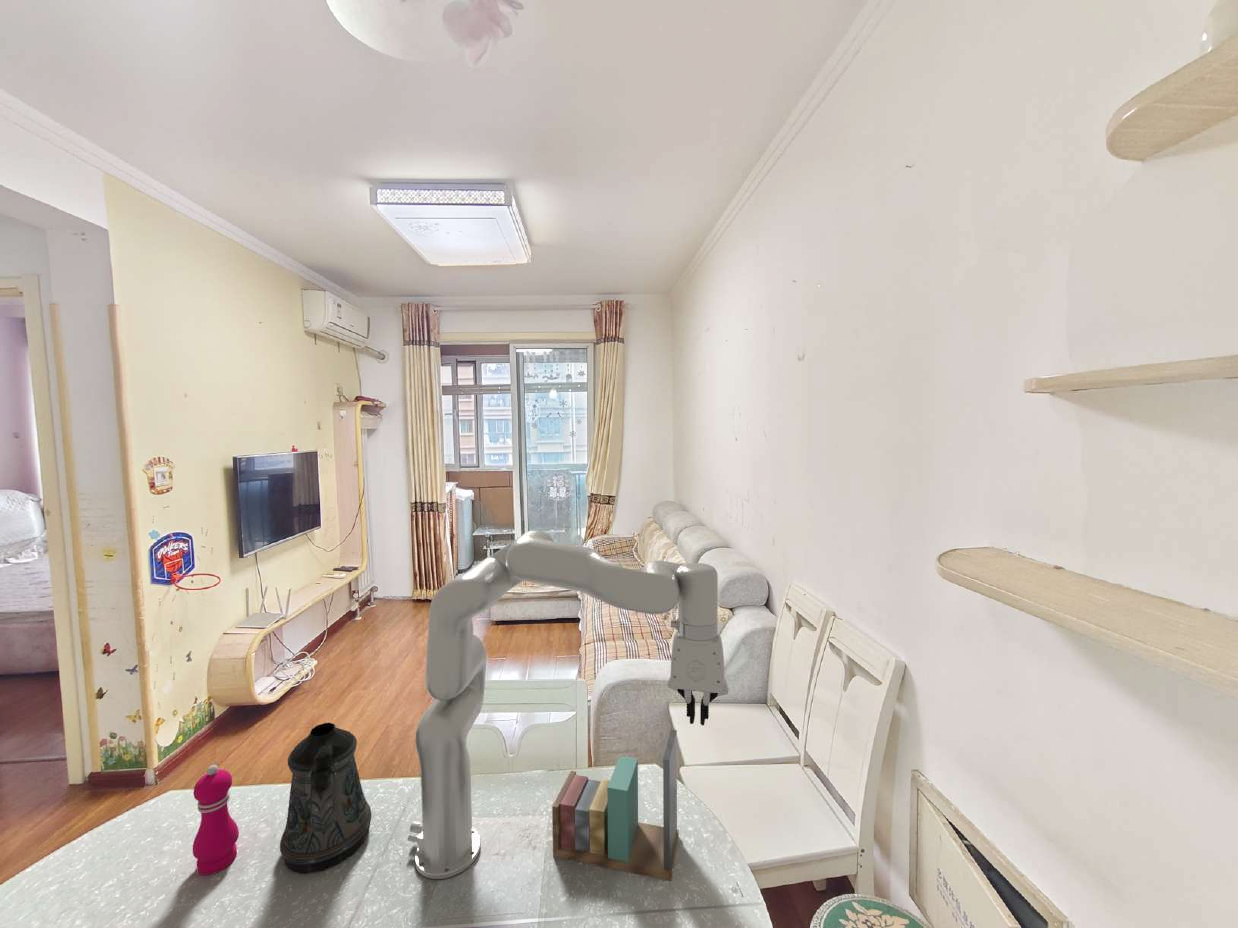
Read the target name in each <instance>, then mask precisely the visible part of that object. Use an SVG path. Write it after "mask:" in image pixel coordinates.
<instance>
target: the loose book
mask: <svg viewBox="0 0 1238 928" xmlns="http://www.w3.org/2000/svg"><path fill="white" fill-rule="evenodd" d="M638 761H639V759H638V758H636V757H629V756H622V755H619V757H618V759H617V762H616V764H615V766H614V769H613V772H612V775H611V777H610V779H609V781H610V782H609V785H608V787H607V795H608V858H610V859H615V860H619V861H624V862H628V860H629V856H630V852H631V849H632V845H633V841H634V837H635V834H636V830H637V826H638V822H639V766H638V764H639V762H638Z"/></svg>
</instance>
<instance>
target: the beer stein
mask: <svg viewBox="0 0 1238 928" xmlns="http://www.w3.org/2000/svg"><path fill="white" fill-rule="evenodd" d="M357 745H358V740H357V738H356V736H355V735H354V734H353V733H352V732H350V731H349V730H345V729H343V728H339V727H337V726H336V725H335V723H332V722H323V723H321V724H318V725H316V726H314V727H313V728H311V731H310V732H309V734H308V735H307V736H306V737H305V738H304V739H302V740H301V741H300V742H298V743H297V744H296V746H295V747H294V748H293V749H292V750H291V752H290V753H289V755H288V757H287V766H288V769H289V771H290V772H291V774H292V775H291V782H290V788H289V789H290V790H289V798H288V808H287V818H286V824H285V828H284V831H283V833H282V836H281V838H280V842H279V852H280V853H281V856H282V859H283V862H284V866H285V867H286V868H287V869H288V870H290V872H293V873H297V874H302V875H307V874H312V873H318V872H323V871H326V870H328V869H331V868H333V867H336V866H338V865H340V864H342V863H343V862H344V861H346V860H347V859H348V858H351V857H352V856H353V855H355V853H356V852H357V851H358V850H360V848H361V847H362V846H363V845H364V844H365V842H366V839H367V837H368V836H369V832H370V826H371V821H372V810H371V807H370V804H369V802H368V800H367V799H366V796H365V794H364V790H363V787H362V784H361V778H360V774H359V770H358V766H357V763H356V757H355V753H356V750H357Z"/></svg>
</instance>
